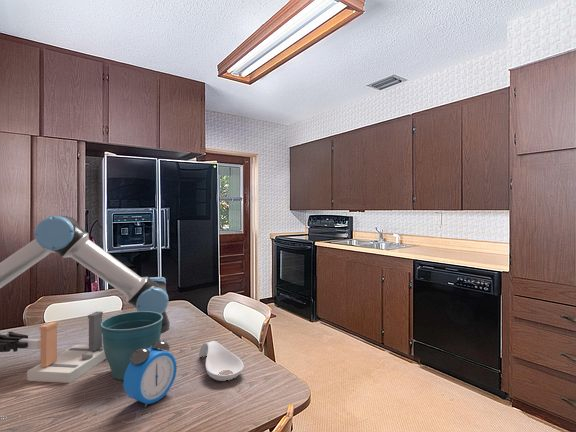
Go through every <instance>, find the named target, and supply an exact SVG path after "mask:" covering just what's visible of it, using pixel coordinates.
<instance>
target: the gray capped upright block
mask: <svg viewBox="0 0 576 432" xmlns="http://www.w3.org/2000/svg"><path fill="white" fill-rule="evenodd" d="M103 314H104V311H95V312H92V313H89V314H88V315H87V319H88V345H89V351H96V350H97V349H99V348H101V347H102V346H103V335H102V327H101V323H102V321H103Z"/></svg>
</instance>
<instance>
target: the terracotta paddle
mask: <svg viewBox="0 0 576 432" xmlns="http://www.w3.org/2000/svg"><path fill="white" fill-rule="evenodd" d="M58 326H59V322H58V321H50V322H48V323H44V324H43V325H40V326H39V331H40V339H41V342H40V349H39V351H40V354H39V356H40V363H39V364H40V366H41V367H47V366H49V365H50V364H52V363H54V362H56V361H57V355H58V346H57V345H58V344H57V343H58V336H57V335H58Z"/></svg>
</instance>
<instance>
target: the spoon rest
mask: <svg viewBox="0 0 576 432" xmlns="http://www.w3.org/2000/svg"><path fill="white" fill-rule="evenodd" d="M206 355H207V357H205V370H206V373H207V375H208V376H209V377H210V378H212V379H213V380H216V381H219V382H227V381H226V380H228V381H231V380H234V379H236V378H237V377H238V376H239V375H240V374H241V373H242V372H243V370H244V367H245V365H244V363H243V361H242V359H240V358H239V357H238V356H237V355H236V354H234V353H232V352H231V351H230V350H228V349H227V348H226V347H224V346H223V345H222V344H221V343H219V342H217V341H215V340H211V341H208V342H204V343H202V345H201V347H200V350H199V354H198V357H199V356H201V357H202V356H206ZM202 358H203V357H202ZM223 370H230V371H232V372H233V374H229V375H220V374H219V372H221V371H223ZM218 374H219V375H218ZM233 378H234V379H233Z"/></svg>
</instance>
